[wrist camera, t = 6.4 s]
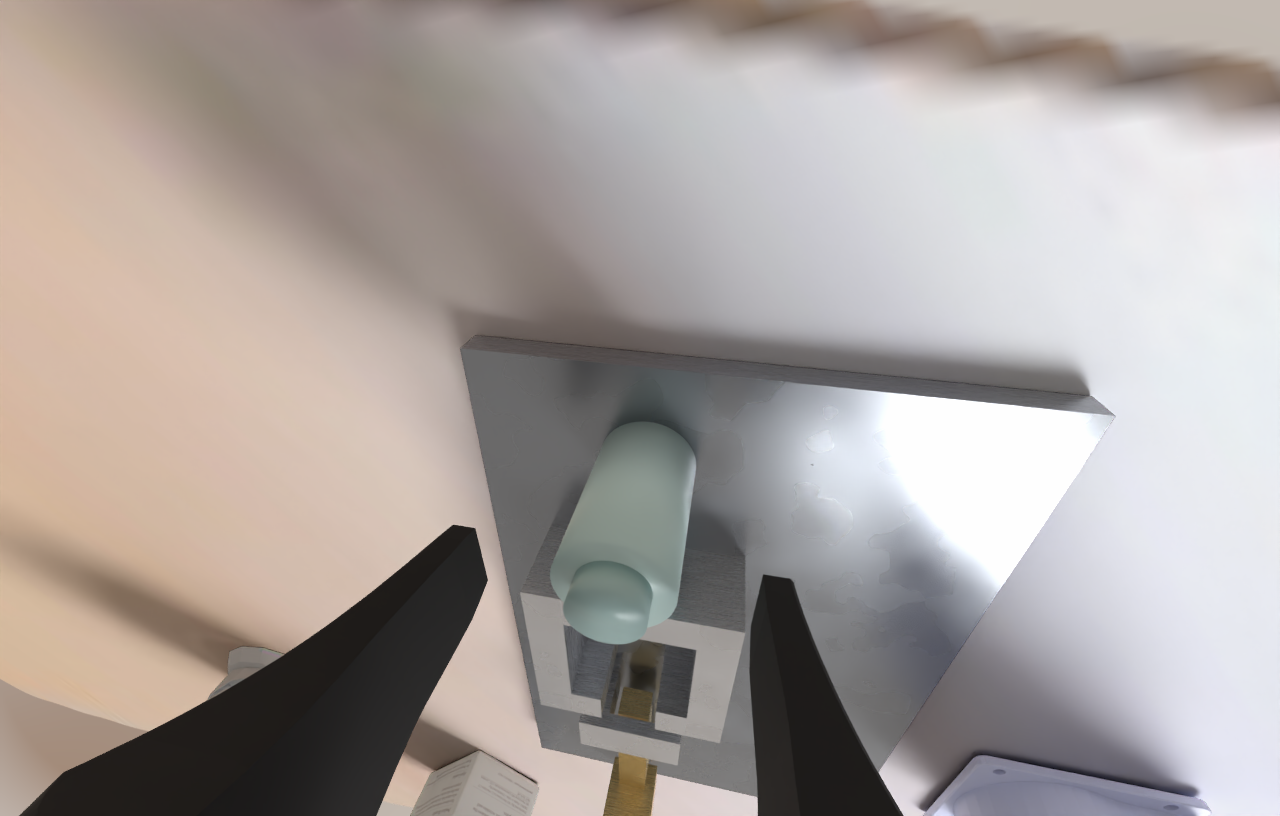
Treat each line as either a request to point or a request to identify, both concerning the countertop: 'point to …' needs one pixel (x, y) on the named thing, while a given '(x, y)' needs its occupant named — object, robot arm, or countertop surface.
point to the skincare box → (476, 790)
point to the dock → (767, 532)
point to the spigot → (627, 535)
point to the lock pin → (632, 765)
